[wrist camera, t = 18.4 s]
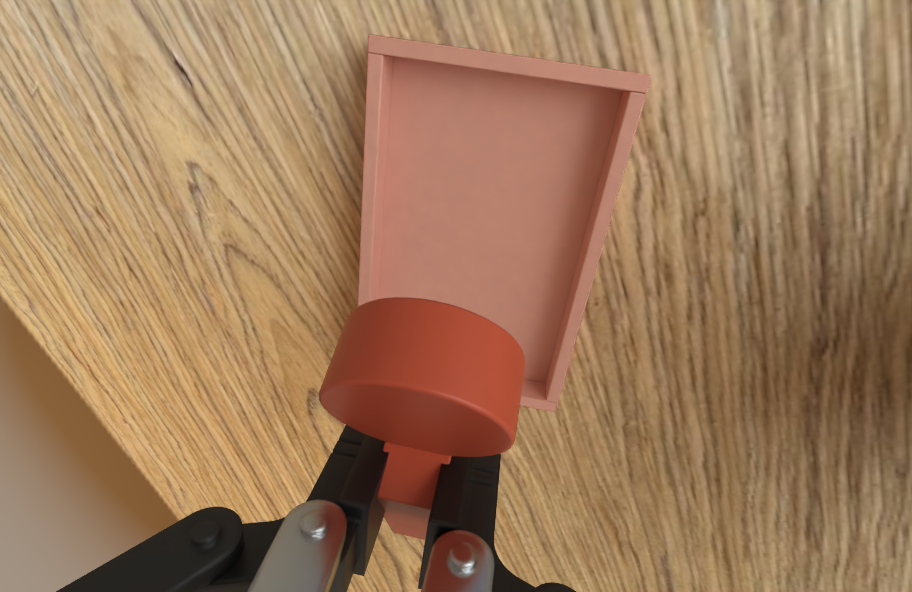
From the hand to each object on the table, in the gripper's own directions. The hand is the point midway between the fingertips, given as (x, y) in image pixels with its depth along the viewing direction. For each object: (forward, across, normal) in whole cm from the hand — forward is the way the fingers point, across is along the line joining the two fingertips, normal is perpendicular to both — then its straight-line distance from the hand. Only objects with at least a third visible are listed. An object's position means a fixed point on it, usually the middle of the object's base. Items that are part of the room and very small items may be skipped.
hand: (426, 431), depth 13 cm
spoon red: (0, 0, -1) cm, 1 cm away
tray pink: (+11, 0, -2) cm, 11 cm away
